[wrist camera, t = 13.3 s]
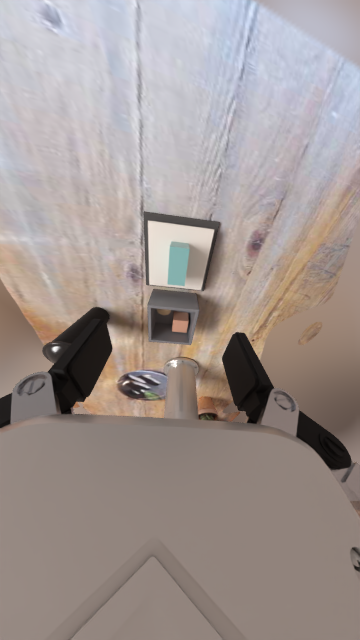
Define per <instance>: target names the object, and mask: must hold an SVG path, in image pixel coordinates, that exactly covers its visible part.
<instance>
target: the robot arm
mask: <svg viewBox="0 0 360 640" xmlns="http://www.w3.org/2000/svg"><path fill="white" fill-rule="evenodd" d="M111 352H112V344H111V340H110V336H109V332H108V328H107V324H106V322H104V320H102V319H93V320H92V321H91V322H90V323H89V324H88V325H87V327H86V328H85V329H84V330H83V331H82V333H81V334H80V335H79V336H78V337H77V338H76V339H75V340H74V341H73V342H72V344H71V345H70V346H69V347H68V348H67V350H66V351H65V352H64V353H63V354H62V355H61V357H60V358H59V359H58V360H57V361H56V363H55V364H54V365H53V366H52V368H51V369H50V370H49V371H48V372H37V373H33V374H31V375H29V376H27V377H25V378H24V379H22V380H21V381H20V382H19V383H18V384H16V386H15V388H14V389H13V392H12V393H11V394H9V395H6V396H4V397H2V398H0V640H360V465H359V464H358V463H357V462H355V463H353V462H352V461H351V457H350V455H349V453H348V451H347V449H346V448H345V446H344V445H343V444H342V443H341V442H340V441H339V440H338V439H337V438H336V437H335V436H334V435H332V434H331V433H330V432H328V431H327V430H326V429H324V428H323V427H321V426H320V425H319V424H317V423H316V422H315V421H313V420H312V419H310V418H309V417H308V416H306V415H305V414H304V413H302V412H301V411H299V406H298V404H297V402H296V400H295V399H294V398H293V397H292V396H291V395H290V394H289V393H288V392H286V391H285V390H283V389H280V388H274V387H273V385H272V383H271V381H270V379H269V377H268V375H267V374H266V372H265V370H264V368H263V366H262V364H261V363H260V360H259V359H258V357H257V355H256V353H255V351H254V350H253V348H252V346H251V344H250V342H249V340H248V338H247V336H246V335H245V333H239V332H236V333H235V334H233V335H232V337H231V339H230V342H229V344H228V346H227V348H226V350H225V352H224V354H223V357H222V361H223V365H224V368H225V372H226V376H227V379H228V383H229V386H230V390H231V393H232V397H233V401H234V404H235V405H236V406H237V407H238V410H239V411H246V415H247V418H246V421H245V423H239V422H226V421H208V420H199V416H198V405H197V393H196V381H195V376H196V375H197V374H198V372H199V366H198V364H197V363H196V362H195V361H193V360H191V359H188V358H174V359H171V360H169V361H168V362H166V363H165V365H164V373H165V374H166V375H167V387H166V399H165V411H164V418H153V417H133V416H112V415H86V414H85V415H84V414H74V410H73V406H74V404H75V403H76V401H77V402H84V401H85V399H86V397H88V396H89V395H90V394H91V392H92V390H93V388H94V386H95V384H96V382H97V380H98V378H99V376H100V374H101V372H102V370H103V368H104V366H105V364H106V362H107V360H108V358H109V356H110V354H111Z"/></svg>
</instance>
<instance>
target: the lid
mask: <svg viewBox="0 0 360 640" xmlns="http://www.w3.org/2000/svg"><path fill="white" fill-rule="evenodd" d="M213 234H214V229H208V228H201V227H194V226H186V225H179V224H171V223H164V222H157V221H149V220H148V250H149V285H157V286H166V287H176V288H185V289H194V290H201V289H202V284H203V279H204V275H205V270H206V266H207V261H208V257H209V252H210V248H211V243H212V239H213Z"/></svg>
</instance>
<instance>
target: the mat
mask: <svg viewBox="0 0 360 640" xmlns="http://www.w3.org/2000/svg"><path fill="white" fill-rule="evenodd" d="M148 220H149V221H157V222H164V223H171V224H179V225H186V226H194V227H201V228H208V229H214V234H213V239H212V243H211V248H210V252H209V257H208V261H207V266H206V270H205V275H204V279H203V284H202V289H201V290H198V291H204V287H205V283H206V279H207V275H208V270H209V266H210V262H211V258H212V253H213V249H214V245H215V241H216V236H217V232H218V228H219V223H220V222H215V221H207V220H200V219H193V218H186V217H179V216H172V215H164V214H157V213H150V212H144V236H145V264H146V285H149V250H148ZM152 286H157V285H152ZM161 287H166V286H161ZM170 288H176V287H170ZM180 289H185V288H180ZM189 290H194V289H189Z"/></svg>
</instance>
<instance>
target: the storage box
mask: <svg viewBox="0 0 360 640" xmlns="http://www.w3.org/2000/svg"><path fill="white" fill-rule="evenodd" d="M198 313H199V306H198V300H197V295H196V293H187V292H177V291H168V290H158V289H153V291H152V294H151V297H150V300H149V302H148V333H149V342H162V343H174V344H186V345H191V343H192V339H193V335H194V330H195V326H196V322H197V318H198Z"/></svg>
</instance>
